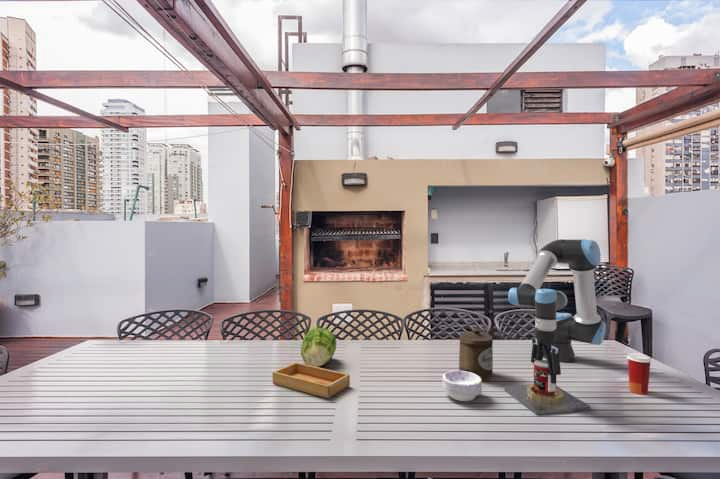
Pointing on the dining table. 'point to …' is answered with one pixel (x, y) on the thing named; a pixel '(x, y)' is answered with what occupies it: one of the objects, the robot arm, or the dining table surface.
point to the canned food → (541, 377)
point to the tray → (311, 379)
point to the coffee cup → (638, 372)
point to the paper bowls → (462, 385)
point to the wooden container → (476, 353)
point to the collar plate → (546, 406)
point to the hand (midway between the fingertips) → (544, 386)
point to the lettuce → (318, 347)
